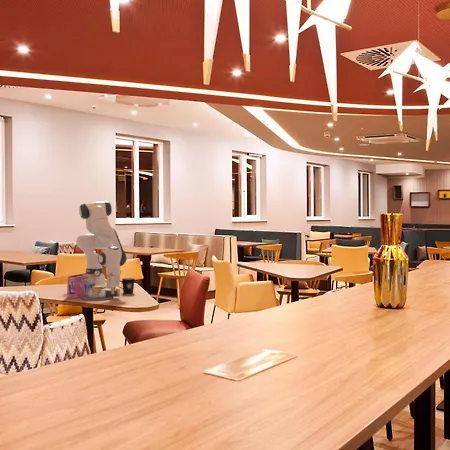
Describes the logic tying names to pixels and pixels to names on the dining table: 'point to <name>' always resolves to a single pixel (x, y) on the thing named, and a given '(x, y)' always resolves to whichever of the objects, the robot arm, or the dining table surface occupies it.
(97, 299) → the cap housing
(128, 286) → the coffee mug
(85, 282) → the gum box
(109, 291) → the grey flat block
